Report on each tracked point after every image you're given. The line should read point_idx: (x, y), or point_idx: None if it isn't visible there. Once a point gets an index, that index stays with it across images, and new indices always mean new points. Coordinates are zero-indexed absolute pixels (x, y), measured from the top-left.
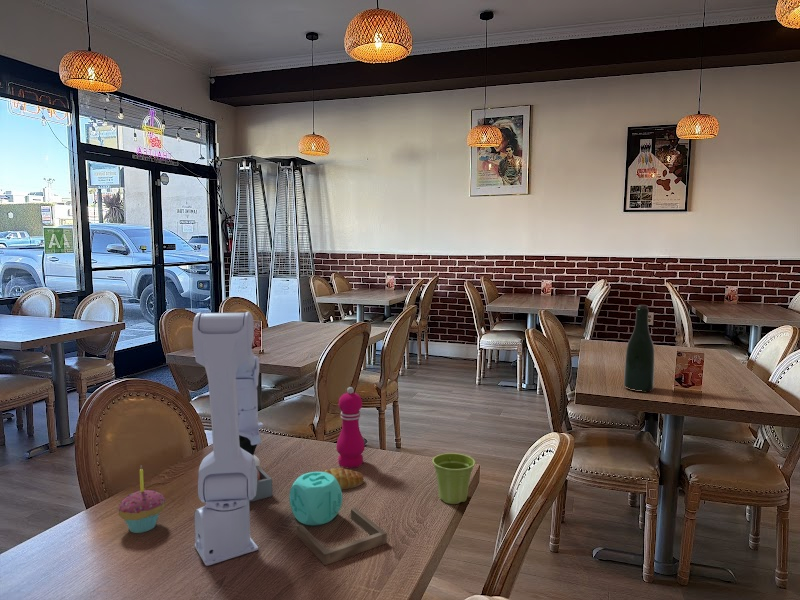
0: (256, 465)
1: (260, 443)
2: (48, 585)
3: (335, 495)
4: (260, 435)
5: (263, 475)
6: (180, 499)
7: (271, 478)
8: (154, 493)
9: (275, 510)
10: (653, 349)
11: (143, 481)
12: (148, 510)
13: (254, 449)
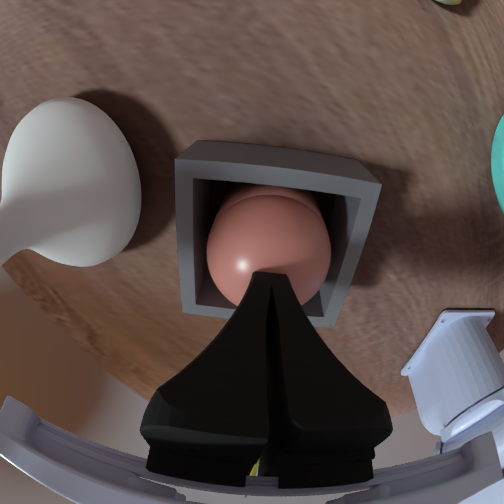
0: (107, 128)
1: (490, 433)
2: None
3: None
4: (501, 475)
5: (306, 188)
6: (190, 346)
7: (377, 185)
8: None
9: (439, 209)
10: None
11: (254, 470)
12: None
13: (326, 350)
